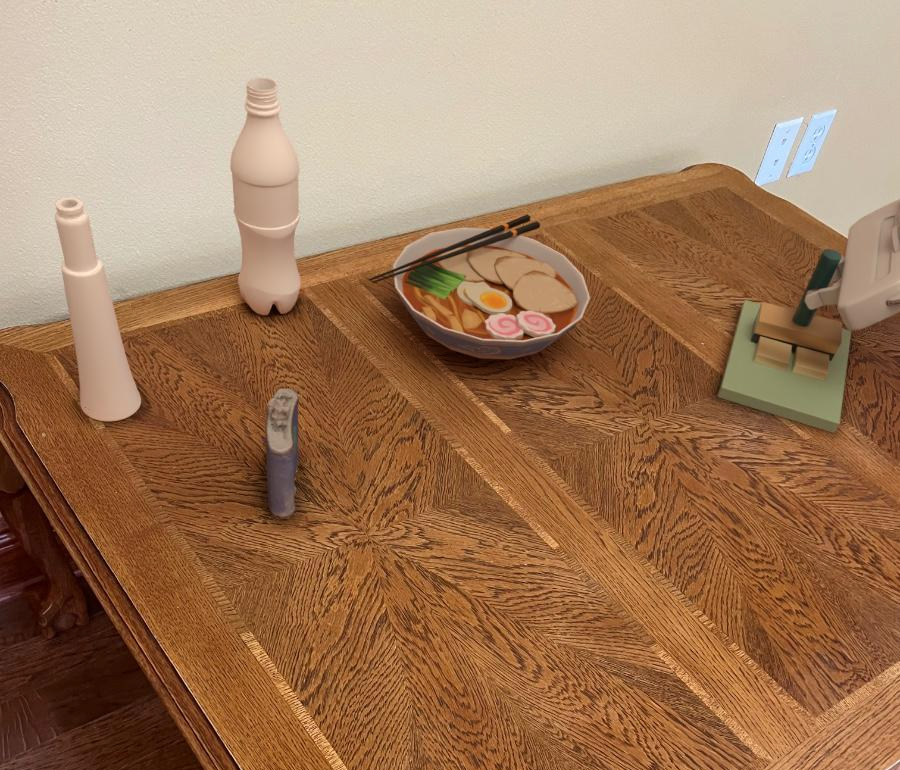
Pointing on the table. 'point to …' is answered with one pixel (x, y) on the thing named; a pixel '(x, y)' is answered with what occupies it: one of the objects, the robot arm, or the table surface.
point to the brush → (803, 316)
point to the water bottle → (266, 203)
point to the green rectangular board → (783, 381)
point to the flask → (282, 452)
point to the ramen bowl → (489, 290)
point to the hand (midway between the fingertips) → (808, 293)
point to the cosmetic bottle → (93, 321)
